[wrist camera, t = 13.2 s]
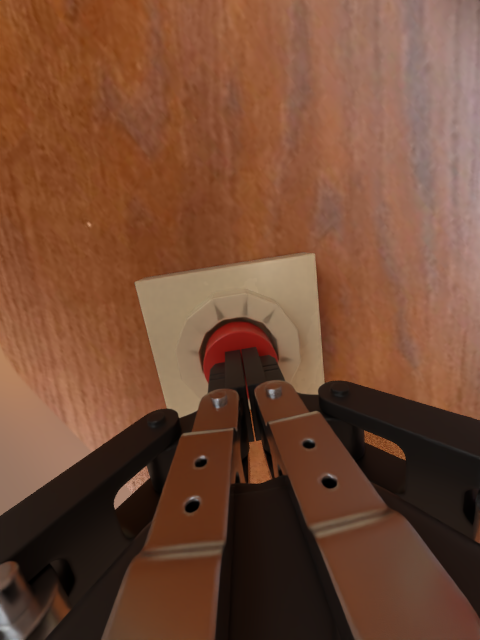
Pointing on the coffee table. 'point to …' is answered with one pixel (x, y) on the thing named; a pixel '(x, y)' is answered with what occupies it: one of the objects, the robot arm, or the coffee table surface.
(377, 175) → the coffee table surface
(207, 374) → the button
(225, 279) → the block
